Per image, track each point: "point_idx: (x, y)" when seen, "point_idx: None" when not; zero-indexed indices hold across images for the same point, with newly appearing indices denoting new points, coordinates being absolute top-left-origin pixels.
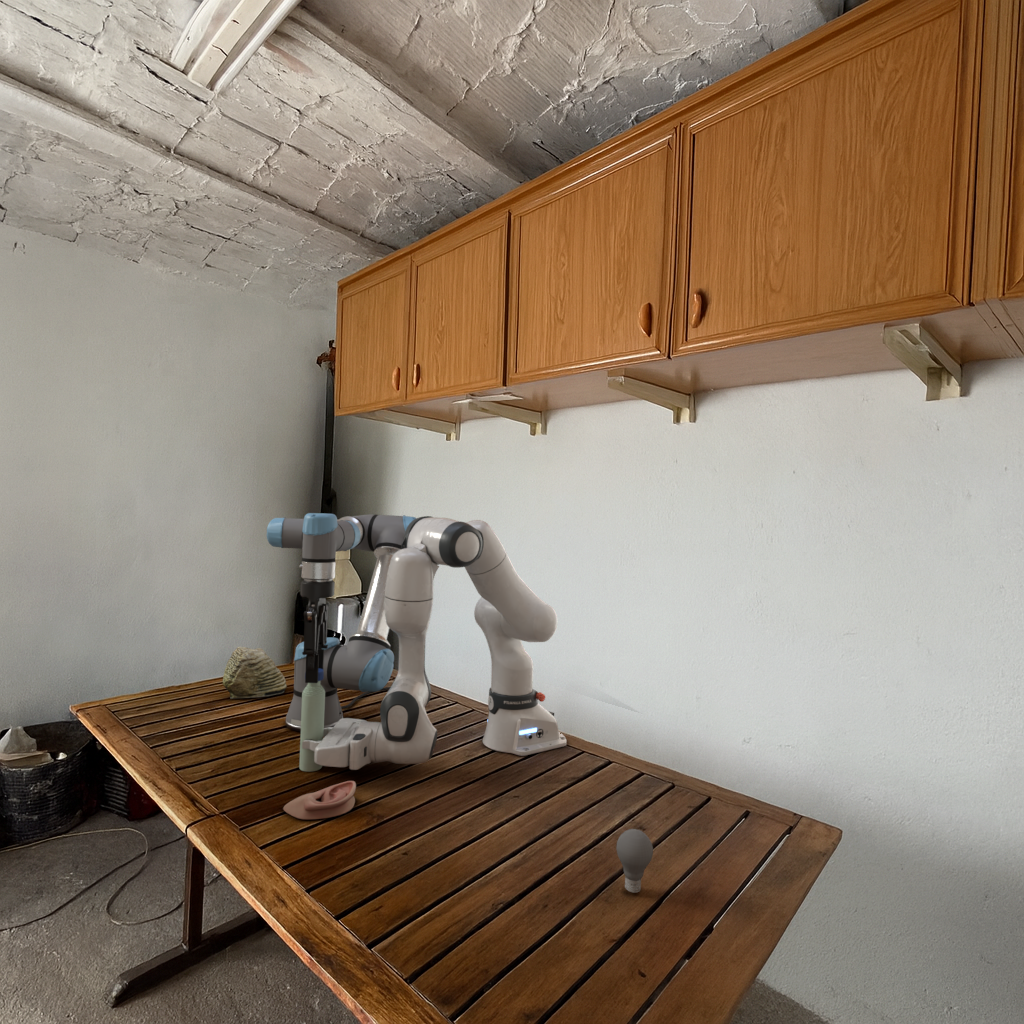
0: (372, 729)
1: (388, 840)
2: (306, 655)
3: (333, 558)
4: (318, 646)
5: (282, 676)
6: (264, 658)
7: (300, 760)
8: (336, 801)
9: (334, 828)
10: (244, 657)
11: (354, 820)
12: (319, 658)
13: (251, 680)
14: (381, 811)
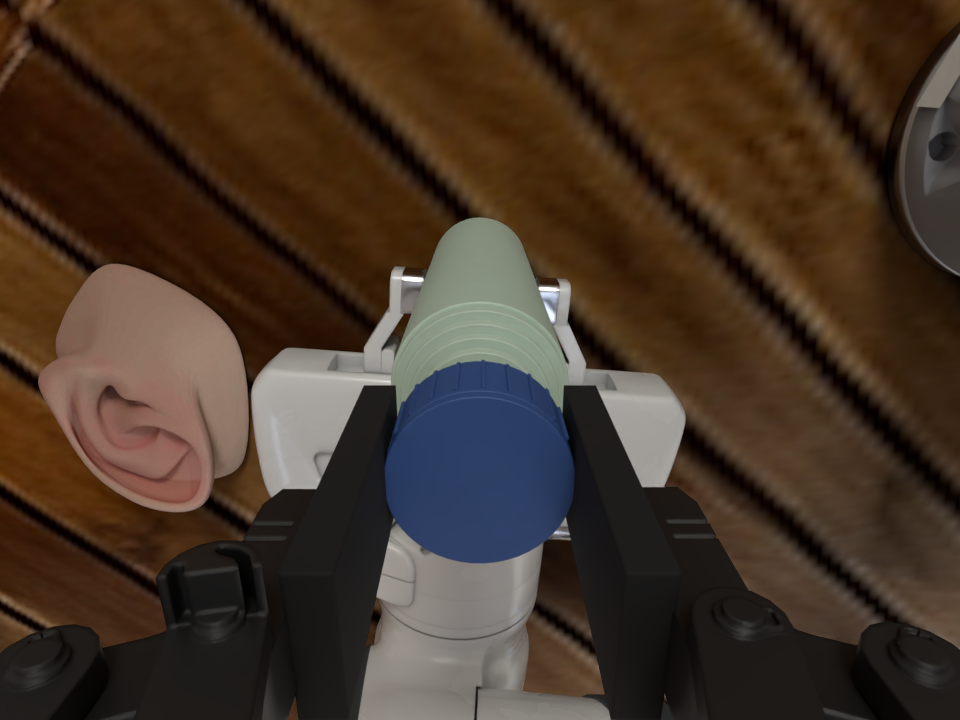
0: (407, 607)
1: (28, 588)
2: (287, 565)
3: None
4: (682, 689)
5: None
6: None
7: (449, 233)
8: (103, 457)
9: (46, 448)
10: None
11: (107, 492)
12: (593, 581)
13: None
14: (178, 552)
